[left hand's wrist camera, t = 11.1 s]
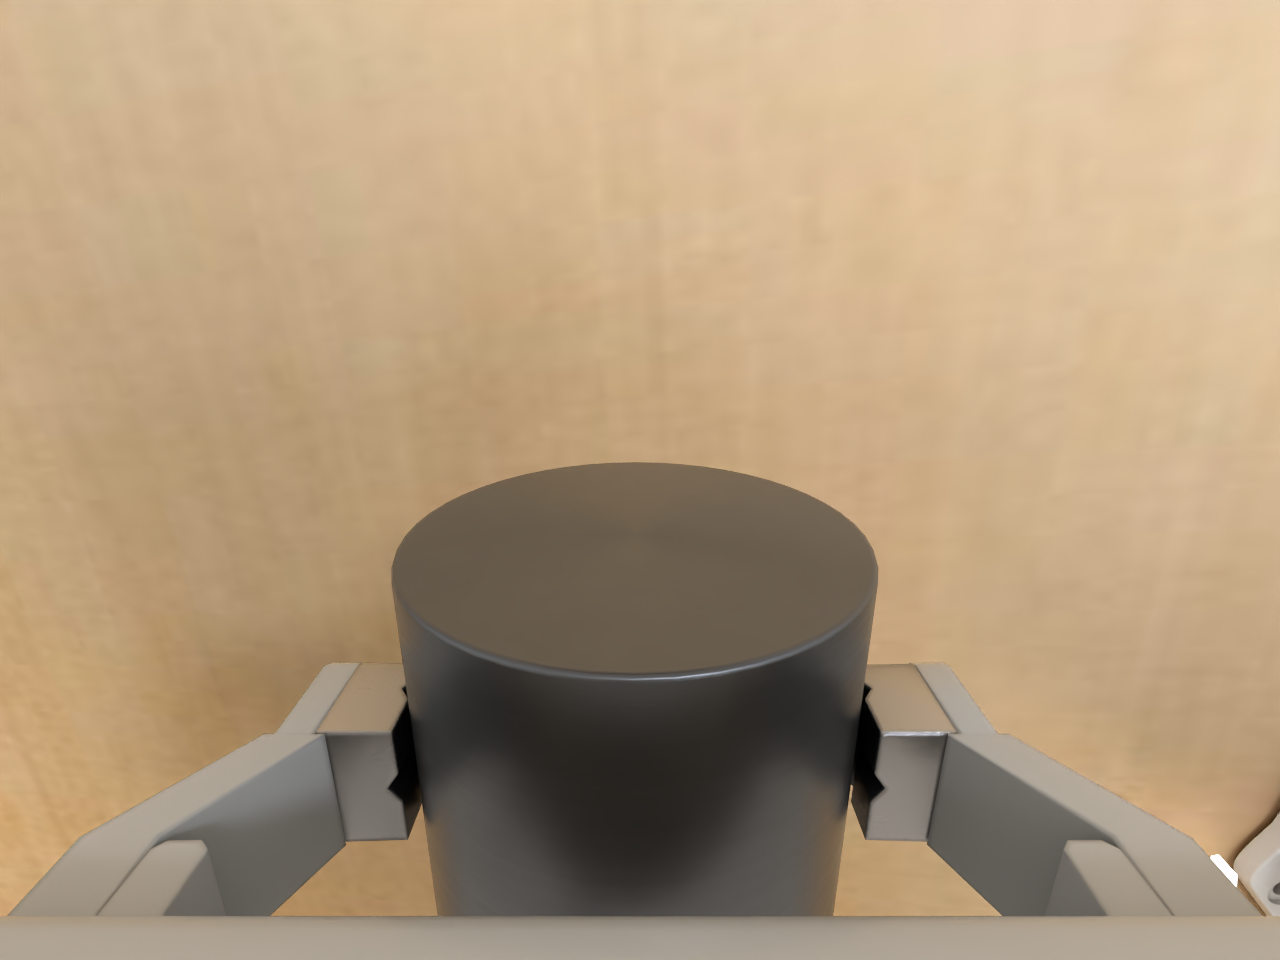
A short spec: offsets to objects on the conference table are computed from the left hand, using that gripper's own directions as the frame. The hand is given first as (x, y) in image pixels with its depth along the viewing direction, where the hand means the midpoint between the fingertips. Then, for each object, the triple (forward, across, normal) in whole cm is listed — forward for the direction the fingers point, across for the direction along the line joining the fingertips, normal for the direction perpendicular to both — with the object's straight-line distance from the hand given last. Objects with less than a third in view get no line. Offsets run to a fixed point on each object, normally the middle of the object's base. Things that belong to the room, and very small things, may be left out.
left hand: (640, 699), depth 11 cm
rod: (+3, 0, -9) cm, 9 cm away
